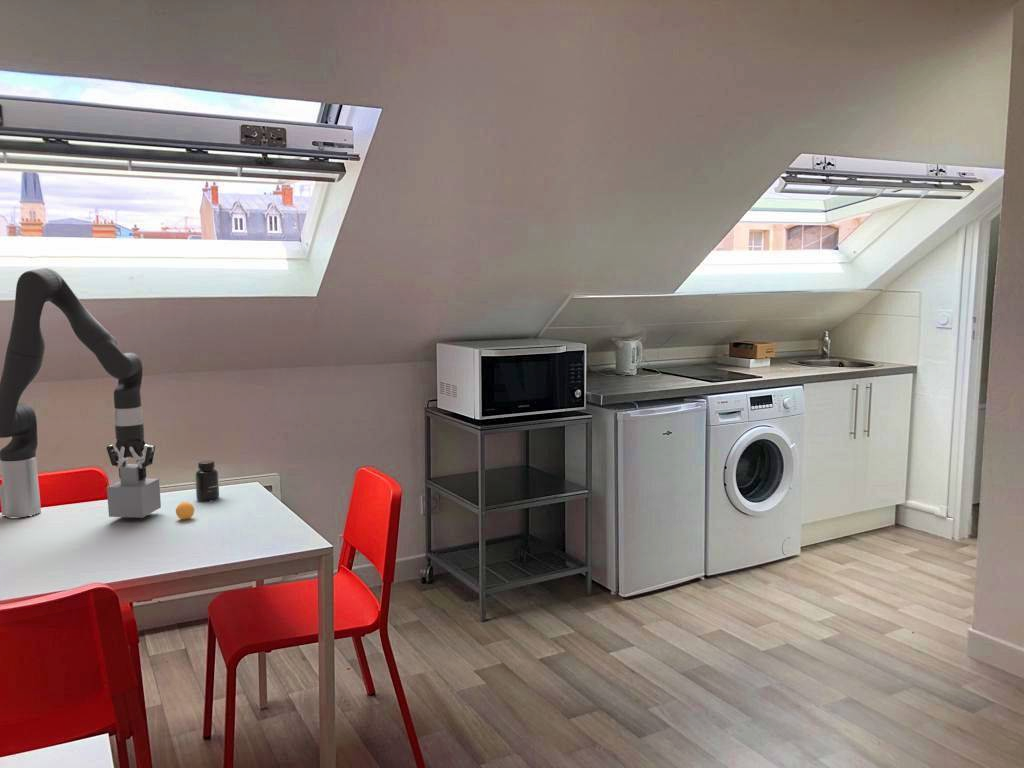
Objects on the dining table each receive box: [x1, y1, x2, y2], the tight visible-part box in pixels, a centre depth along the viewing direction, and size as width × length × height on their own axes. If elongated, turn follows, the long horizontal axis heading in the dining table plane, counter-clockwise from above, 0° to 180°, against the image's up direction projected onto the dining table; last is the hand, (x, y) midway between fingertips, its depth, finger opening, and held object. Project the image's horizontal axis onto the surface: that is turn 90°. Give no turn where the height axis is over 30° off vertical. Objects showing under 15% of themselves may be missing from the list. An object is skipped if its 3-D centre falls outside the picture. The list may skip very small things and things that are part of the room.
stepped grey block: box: [106, 463, 162, 519], centre depth 245 cm, size 10×10×14 cm
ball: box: [175, 501, 195, 520], centre depth 244 cm, size 5×5×5 cm
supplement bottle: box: [194, 460, 220, 502], centre depth 265 cm, size 7×7×12 cm
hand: (133, 479), depth 245 cm, fingers closed on stepped grey block, 4 cm apart
